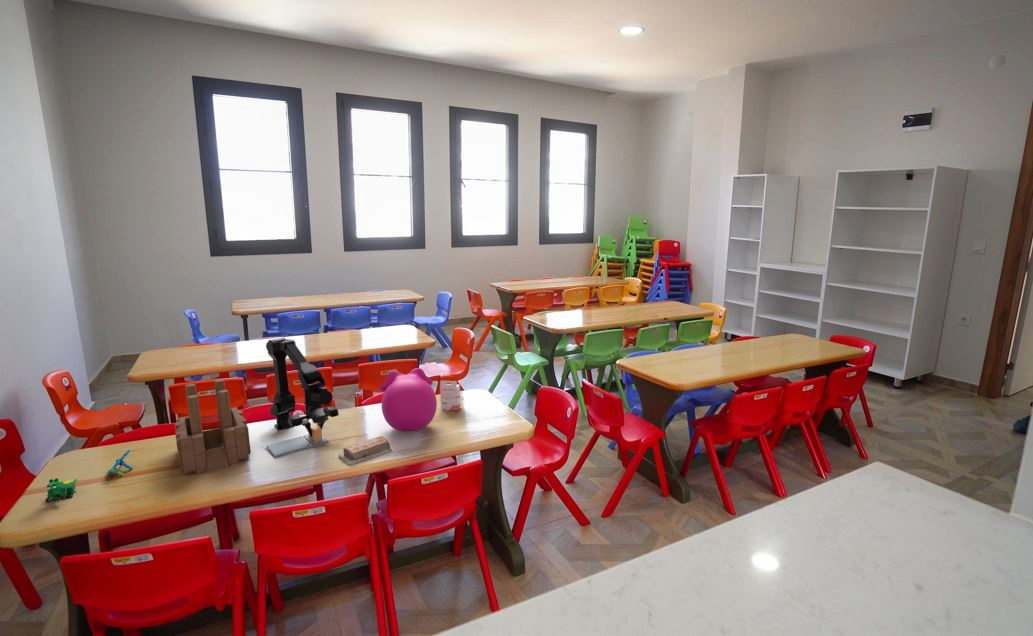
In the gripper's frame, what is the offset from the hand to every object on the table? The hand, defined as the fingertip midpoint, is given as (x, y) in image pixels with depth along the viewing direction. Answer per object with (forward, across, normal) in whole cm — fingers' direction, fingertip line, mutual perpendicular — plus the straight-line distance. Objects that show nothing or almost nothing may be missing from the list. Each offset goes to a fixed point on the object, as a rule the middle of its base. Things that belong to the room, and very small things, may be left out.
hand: (315, 435), depth 213 cm
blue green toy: (+2, -64, +20) cm, 66 cm away
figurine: (+2, +35, -15) cm, 38 cm away
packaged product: (+3, +11, -25) cm, 27 cm away
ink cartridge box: (+2, +62, -7) cm, 62 cm away
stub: (+2, 0, 0) cm, 2 cm away
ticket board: (+2, -10, 0) cm, 11 cm away
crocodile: (+2, -79, +13) cm, 80 cm away
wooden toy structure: (+2, -34, +12) cm, 37 cm away
